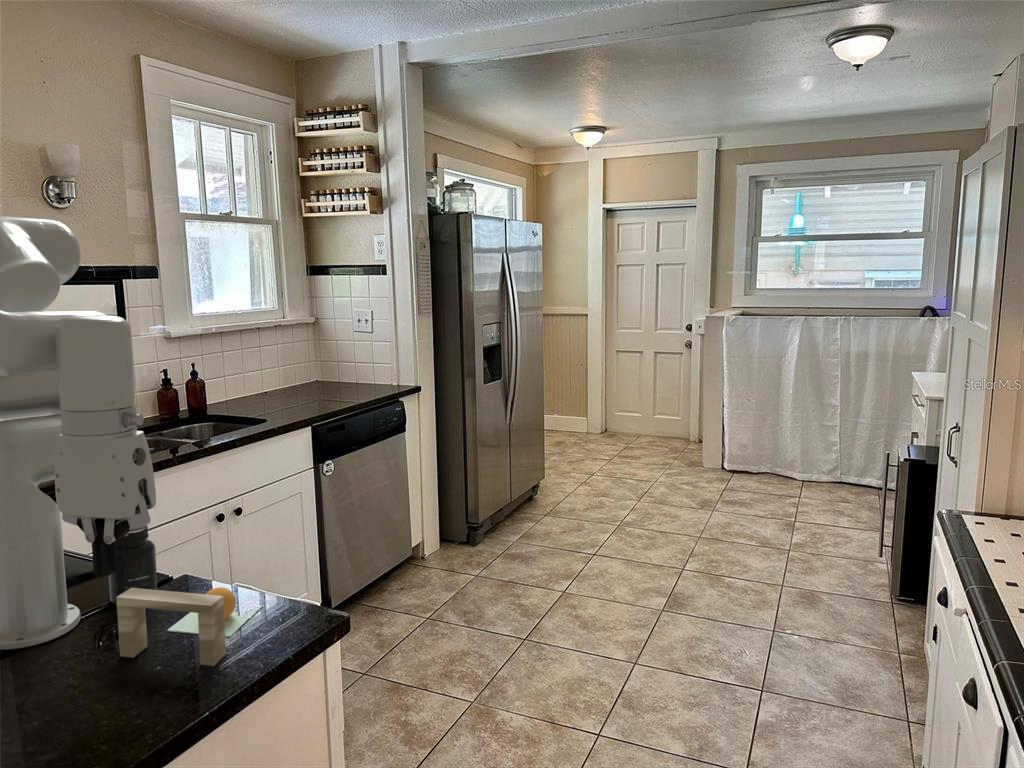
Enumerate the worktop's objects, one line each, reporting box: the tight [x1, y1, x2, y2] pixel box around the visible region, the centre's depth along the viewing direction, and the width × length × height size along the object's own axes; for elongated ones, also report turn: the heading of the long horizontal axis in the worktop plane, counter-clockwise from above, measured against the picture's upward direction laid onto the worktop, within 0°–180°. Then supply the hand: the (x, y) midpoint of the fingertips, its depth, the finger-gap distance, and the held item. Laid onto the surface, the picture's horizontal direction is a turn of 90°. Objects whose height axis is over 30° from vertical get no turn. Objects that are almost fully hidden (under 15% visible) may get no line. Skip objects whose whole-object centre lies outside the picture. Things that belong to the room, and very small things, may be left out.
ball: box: [205, 587, 237, 619], centre depth 107 cm, size 5×5×5 cm
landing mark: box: [166, 604, 264, 638], centre depth 108 cm, size 10×10×1 cm
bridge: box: [116, 588, 227, 667], centre depth 97 cm, size 3×14×9 cm, turn 82°
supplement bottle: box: [108, 524, 158, 606], centre depth 113 cm, size 7×7×12 cm
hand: (109, 570), depth 84 cm, fingers closed
